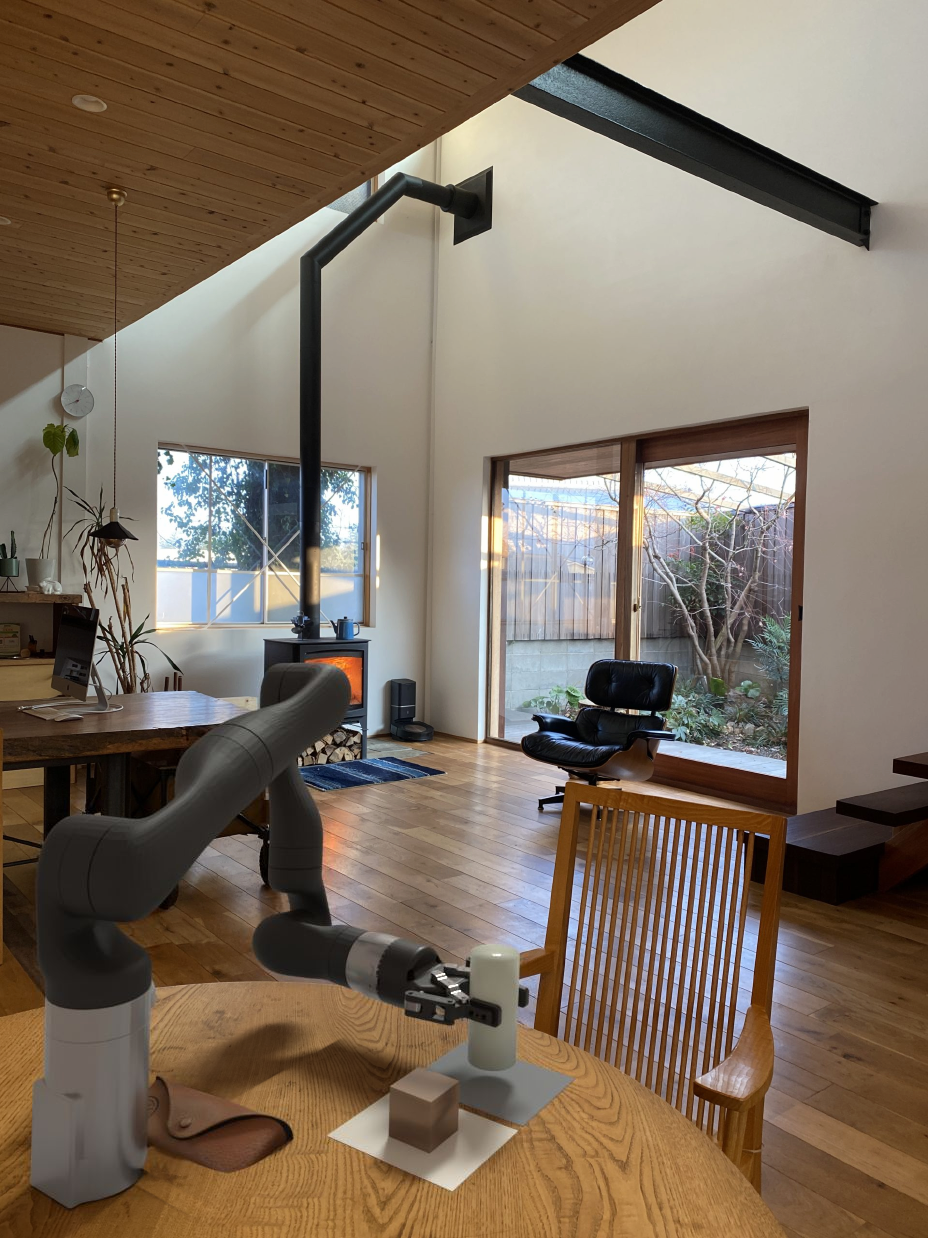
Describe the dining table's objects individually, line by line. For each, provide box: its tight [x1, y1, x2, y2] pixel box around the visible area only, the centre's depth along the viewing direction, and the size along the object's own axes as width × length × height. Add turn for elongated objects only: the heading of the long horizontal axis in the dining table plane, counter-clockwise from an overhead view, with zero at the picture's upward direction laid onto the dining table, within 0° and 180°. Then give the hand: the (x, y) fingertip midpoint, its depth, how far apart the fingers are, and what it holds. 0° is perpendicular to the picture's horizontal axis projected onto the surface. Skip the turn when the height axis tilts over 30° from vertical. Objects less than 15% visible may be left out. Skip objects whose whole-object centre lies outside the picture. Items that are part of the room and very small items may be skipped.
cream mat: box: [326, 1092, 519, 1192], centre depth 93 cm, size 12×15×1 cm
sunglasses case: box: [147, 1075, 294, 1174], centre depth 92 cm, size 18×7×7 cm
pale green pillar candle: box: [467, 943, 521, 1071], centre depth 104 cm, size 6×6×12 cm
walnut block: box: [388, 1065, 460, 1154], centre depth 93 cm, size 5×5×5 cm
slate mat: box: [424, 1041, 576, 1128], centre depth 104 cm, size 12×15×1 cm
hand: (513, 1007), depth 102 cm, fingers closed on pale green pillar candle, 5 cm apart
